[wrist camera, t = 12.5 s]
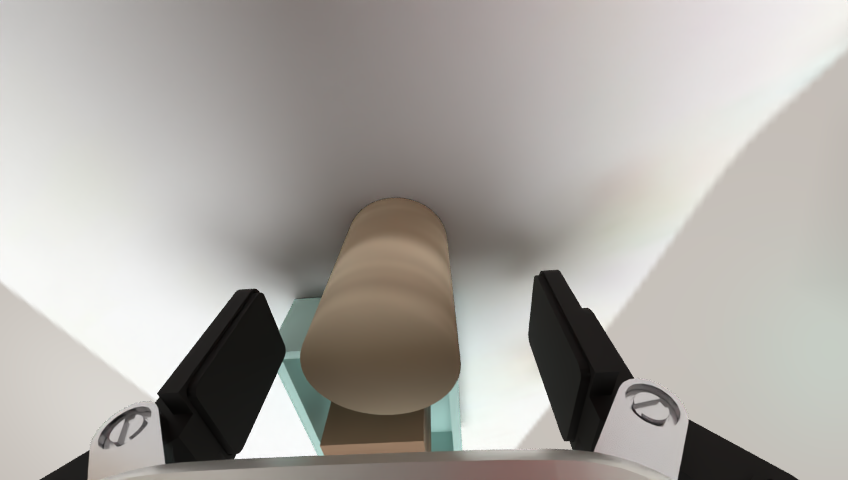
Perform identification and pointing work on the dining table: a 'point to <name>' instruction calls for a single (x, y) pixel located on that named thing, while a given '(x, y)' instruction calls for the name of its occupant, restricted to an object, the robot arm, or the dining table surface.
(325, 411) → the tote
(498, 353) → the dining table surface
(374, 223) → the beech dowel
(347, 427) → the walnut cube
